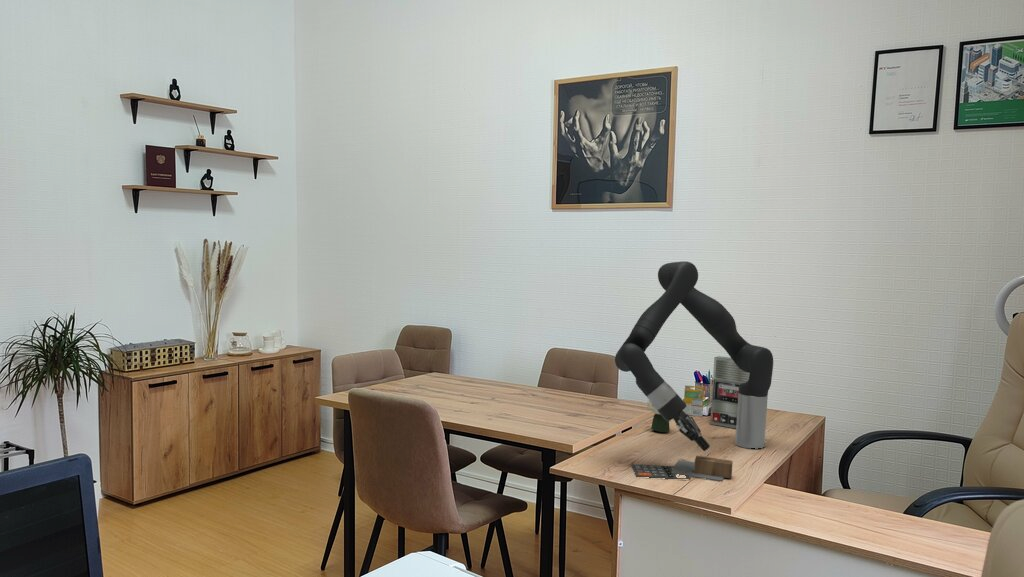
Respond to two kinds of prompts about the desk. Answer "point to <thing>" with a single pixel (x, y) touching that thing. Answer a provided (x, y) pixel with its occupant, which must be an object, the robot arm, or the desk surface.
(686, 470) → the mat
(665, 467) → the calculator
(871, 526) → the desk surface
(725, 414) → the cassette tape recorder
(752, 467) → the desk surface
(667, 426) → the character mug
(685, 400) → the crayon box
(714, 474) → the block
